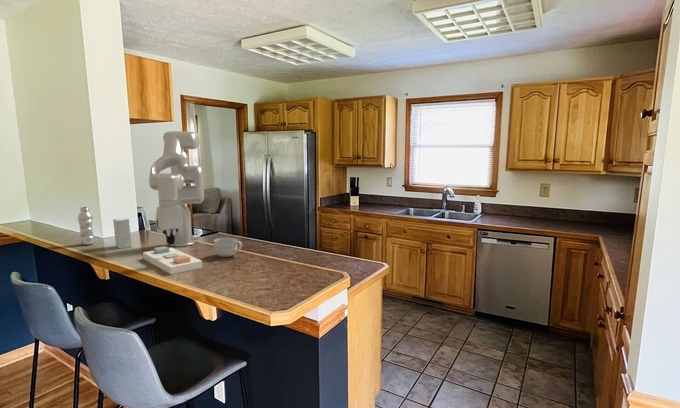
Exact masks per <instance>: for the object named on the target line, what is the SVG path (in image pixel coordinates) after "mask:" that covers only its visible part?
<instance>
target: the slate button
mask: <svg viewBox="0 0 680 408" xmlns="http://www.w3.org/2000/svg"><path fill="white" fill-rule="evenodd" d="M169 248H170V247H167V246H165V245H164V246H160V247H159V246H158V247H154V248H153V251H154V252H155V253H157V254H161V253H167V252H169Z"/></svg>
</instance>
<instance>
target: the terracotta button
mask: <svg viewBox="0 0 680 408" xmlns="http://www.w3.org/2000/svg"><path fill="white" fill-rule="evenodd" d="M173 262H174V263H176V264H182V263H187V262H190V257H188V256H186V255H184V256H178V257H173Z"/></svg>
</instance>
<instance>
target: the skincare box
mask: <svg viewBox="0 0 680 408" xmlns="http://www.w3.org/2000/svg"><path fill="white" fill-rule="evenodd" d="M112 220H113V221H112V222H113V231H114V237H115V239H114V240H115V241H114V242H115V247H116V248H117V249H121V250H122V249H127V248H132V247H133V245H132V234H131V227H130V226H131V225H130V219H129V218H126V217H120V218H112Z"/></svg>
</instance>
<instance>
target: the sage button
mask: <svg viewBox="0 0 680 408" xmlns="http://www.w3.org/2000/svg"><path fill="white" fill-rule="evenodd" d="M178 256H179V255H178V254H176V253H173V254H167V255H163V257H164V258H166V259H170V258H173V257H178Z"/></svg>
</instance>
